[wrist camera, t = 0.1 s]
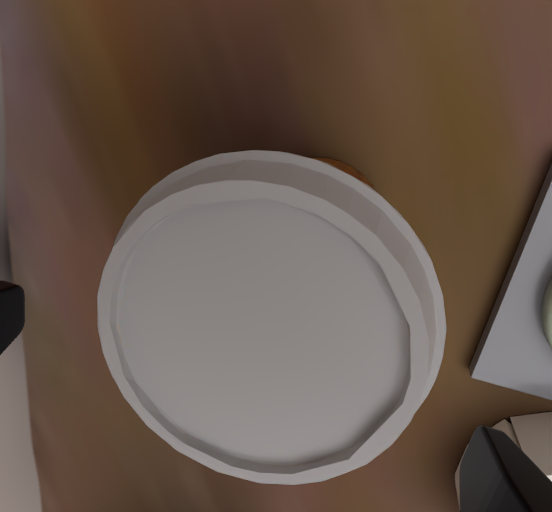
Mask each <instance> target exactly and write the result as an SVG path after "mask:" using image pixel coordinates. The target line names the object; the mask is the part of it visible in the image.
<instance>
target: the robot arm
mask: <svg viewBox="0 0 552 512" xmlns="http://www.w3.org/2000/svg"><path fill="white" fill-rule="evenodd" d="M24 323H25V296H24V290H23V288H22V287H21V286H19V285H16V284H13V283H10V282H6V281H0V355H1V354H2V353H3V351H4V350H5V349H6V348H7V347H8V346H9V345H10V344H11V342H13V340H14V339H15V338H16V337H17V336H18V335H19V334H20V332H21V331H22V329H23V326H24ZM459 489H460V512H552V481H551V480H550V479H549V478H548V477H547V476H546V475H545V474H544V473H543V472H542V471H541V470H540V469H539V468H538V467H537V466H536V464H535V463H534V462H533V461H532V460H531V459H530V458H529V457H528V456H527V455H526V454H525V453H524V452H523V451H522V450H521V449H520V448H519V447H518V446H517V445H516V444H515V443H514V442H513V441H512V439H511V438H510V437H509V436H508V435H507V434H506V433H505V432H503V431H501V430H497V429H494V428H491V427H487V426H484V425H481V426H478V427H477V428H476V430H475V431H474V433H473V435H472V438H471V440H470V442H469V444H468V447H467V449H466V451H465V453H464V455H463V458H462V460H461V464H460V470H459Z"/></svg>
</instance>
